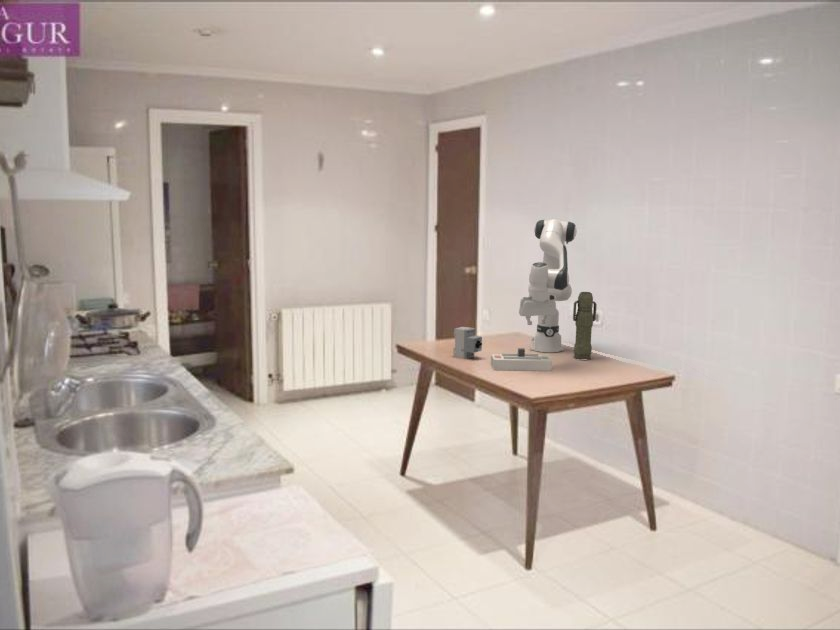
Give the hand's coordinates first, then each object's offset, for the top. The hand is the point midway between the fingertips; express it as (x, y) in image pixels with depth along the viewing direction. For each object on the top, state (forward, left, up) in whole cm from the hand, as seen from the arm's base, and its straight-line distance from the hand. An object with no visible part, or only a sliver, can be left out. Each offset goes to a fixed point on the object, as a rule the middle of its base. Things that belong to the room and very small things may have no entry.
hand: (536, 324), depth 352 cm
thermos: (-24, +29, -22) cm, 43 cm away
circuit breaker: (-22, -31, -22) cm, 44 cm away
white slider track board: (0, -7, -22) cm, 23 cm away
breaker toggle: (0, -7, -16) cm, 18 cm away
